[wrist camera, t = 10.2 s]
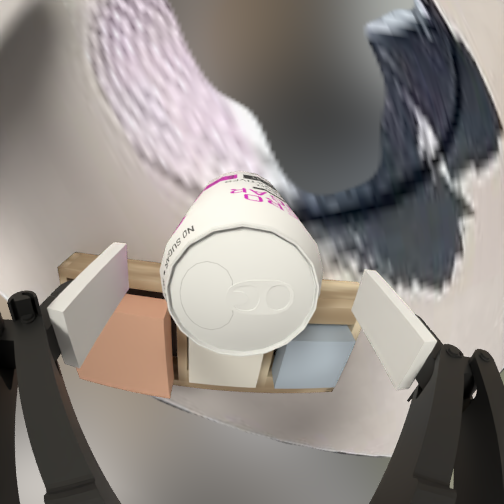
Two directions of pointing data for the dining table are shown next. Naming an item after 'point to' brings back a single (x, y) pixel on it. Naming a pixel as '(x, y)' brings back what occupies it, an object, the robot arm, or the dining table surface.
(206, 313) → the supplement can
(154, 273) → the wooden compartment tray
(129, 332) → the key terracotta
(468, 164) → the dining table surface
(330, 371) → the key slate
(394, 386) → the robot arm
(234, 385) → the key ivory
